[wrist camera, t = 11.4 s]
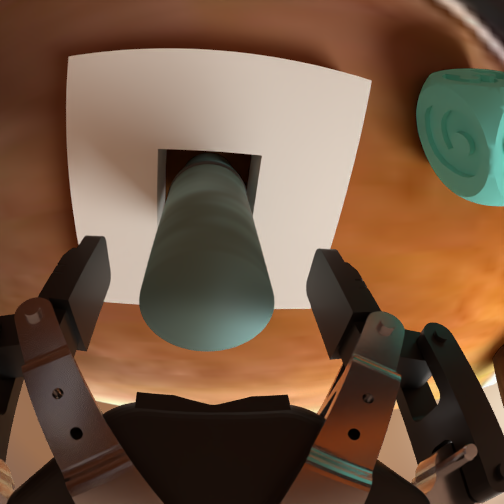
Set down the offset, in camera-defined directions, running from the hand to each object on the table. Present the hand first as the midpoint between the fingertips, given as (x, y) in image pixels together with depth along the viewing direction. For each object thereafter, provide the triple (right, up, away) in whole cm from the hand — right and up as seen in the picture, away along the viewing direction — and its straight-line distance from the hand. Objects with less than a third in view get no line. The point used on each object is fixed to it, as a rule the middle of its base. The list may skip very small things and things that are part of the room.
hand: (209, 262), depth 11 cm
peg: (-1, +5, +8) cm, 10 cm away
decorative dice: (+17, +11, +7) cm, 22 cm away
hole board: (-1, +5, +8) cm, 10 cm away
